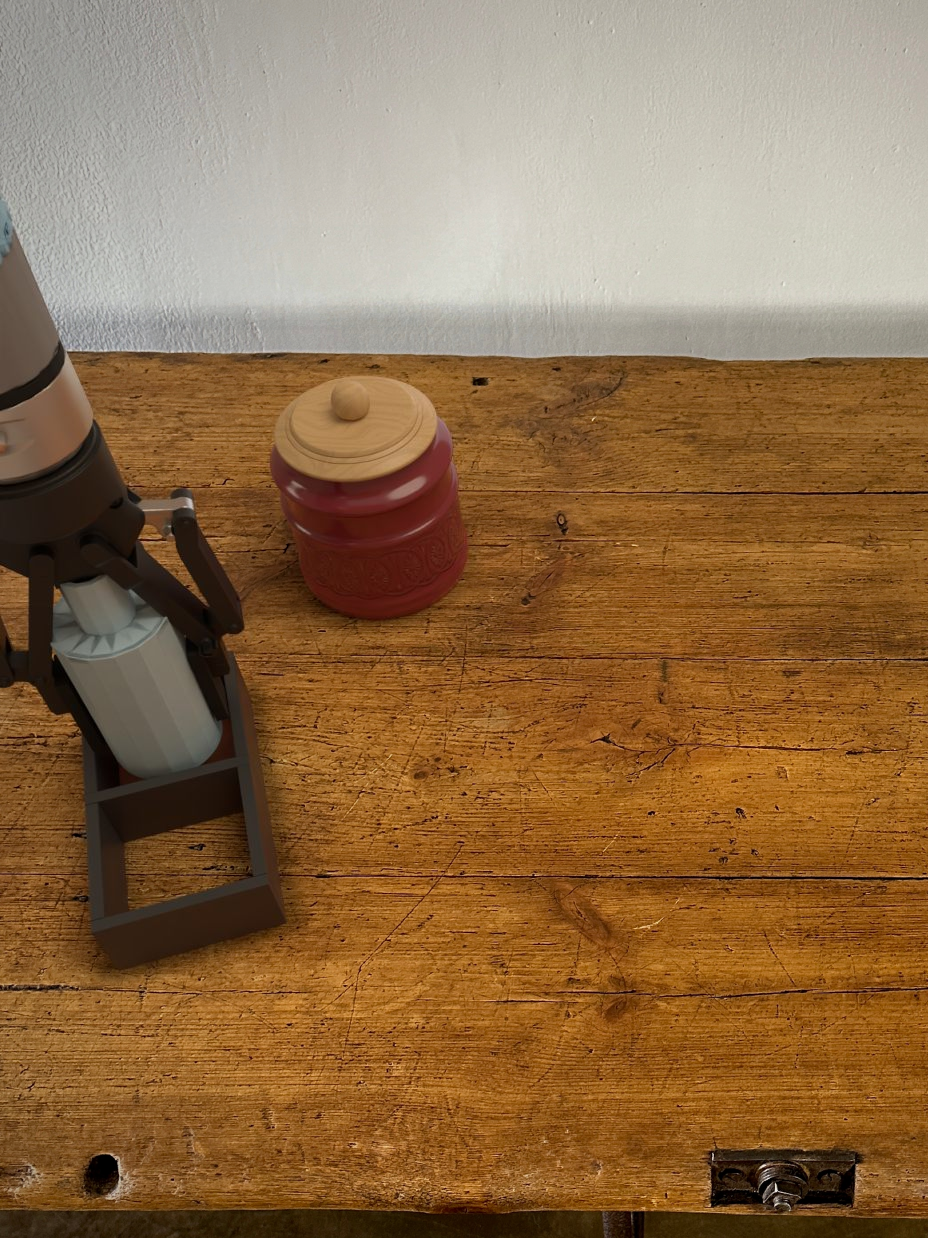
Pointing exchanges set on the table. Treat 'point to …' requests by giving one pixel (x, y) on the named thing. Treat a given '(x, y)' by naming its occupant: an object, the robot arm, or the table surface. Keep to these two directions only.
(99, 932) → the frame
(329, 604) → the kitchen canister
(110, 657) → the water bottle
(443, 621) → the table surface
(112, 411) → the table surface
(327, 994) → the table surface
